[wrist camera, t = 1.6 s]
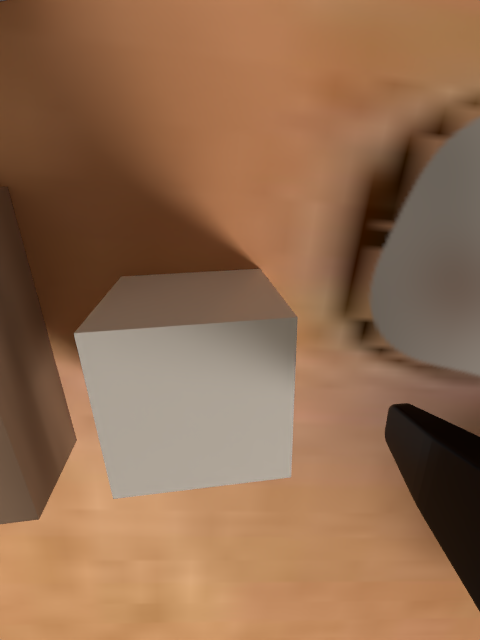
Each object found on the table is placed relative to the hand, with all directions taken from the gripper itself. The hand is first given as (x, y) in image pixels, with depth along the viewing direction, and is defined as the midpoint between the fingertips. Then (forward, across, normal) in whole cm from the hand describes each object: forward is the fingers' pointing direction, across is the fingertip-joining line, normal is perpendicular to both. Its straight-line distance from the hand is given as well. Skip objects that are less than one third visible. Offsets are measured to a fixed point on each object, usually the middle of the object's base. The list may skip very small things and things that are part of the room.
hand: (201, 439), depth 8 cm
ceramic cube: (+6, 0, 0) cm, 6 cm away
